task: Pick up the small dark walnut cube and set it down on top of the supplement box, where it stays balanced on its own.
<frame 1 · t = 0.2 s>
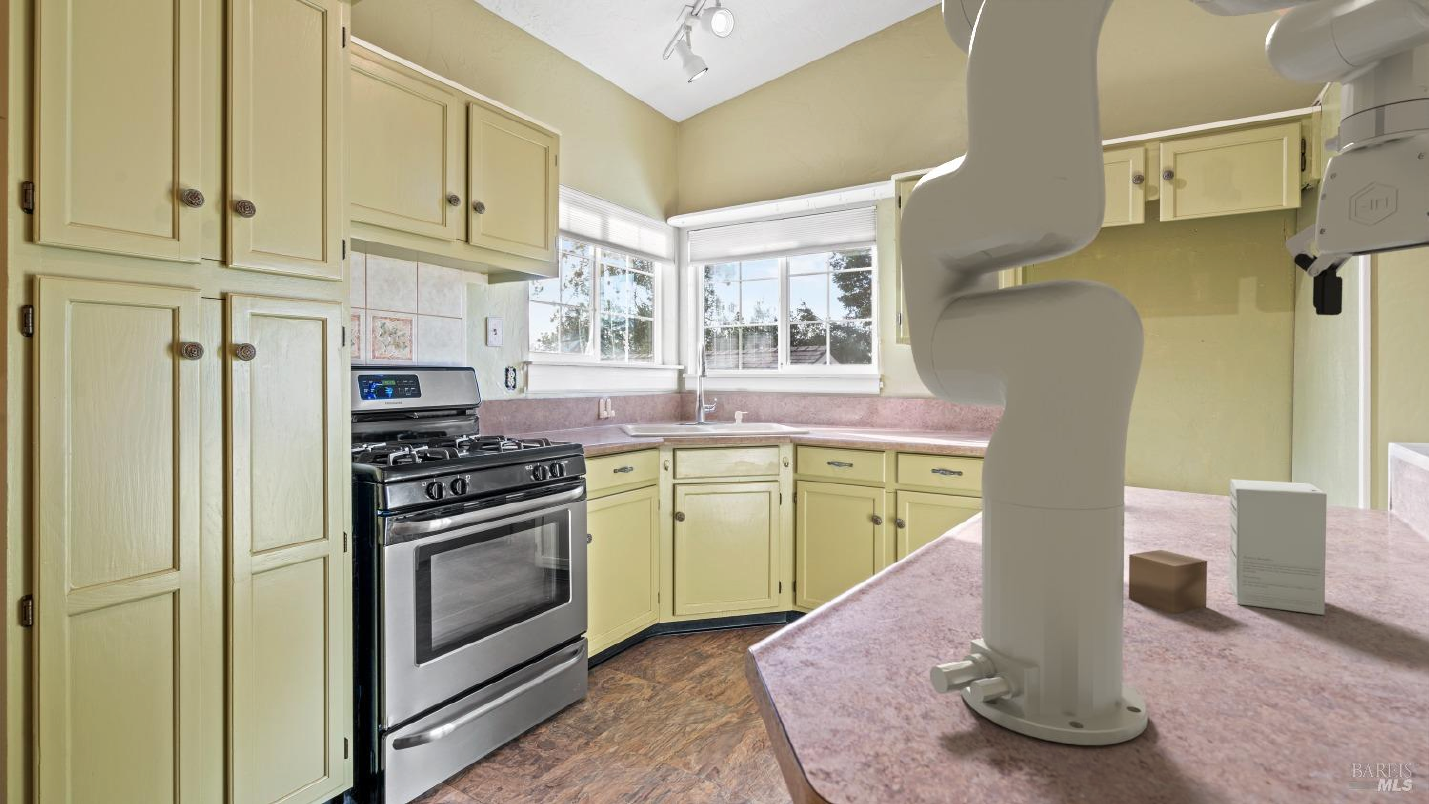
hand: (1387, 310, 67), 31 cm above the countertop, tool pointing down, fingers open, 9 cm apart
supplement box: (1273, 602, 74), on the countertop
walnut cube: (1166, 603, 74), on the countertop
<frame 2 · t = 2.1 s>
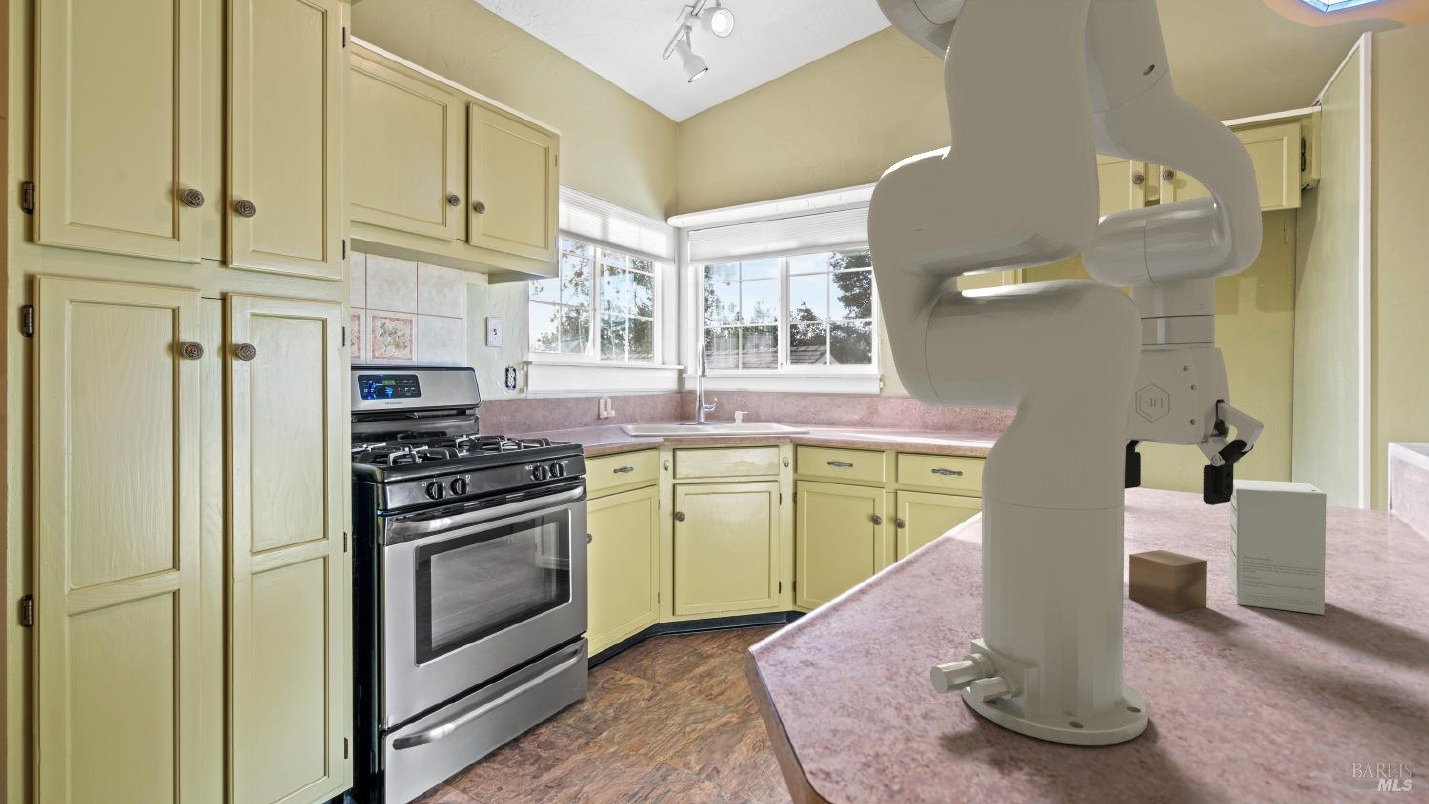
hand: (1170, 494, 74), 12 cm above the countertop, tool pointing down, fingers open, 9 cm apart
nothing on the countertop moved.
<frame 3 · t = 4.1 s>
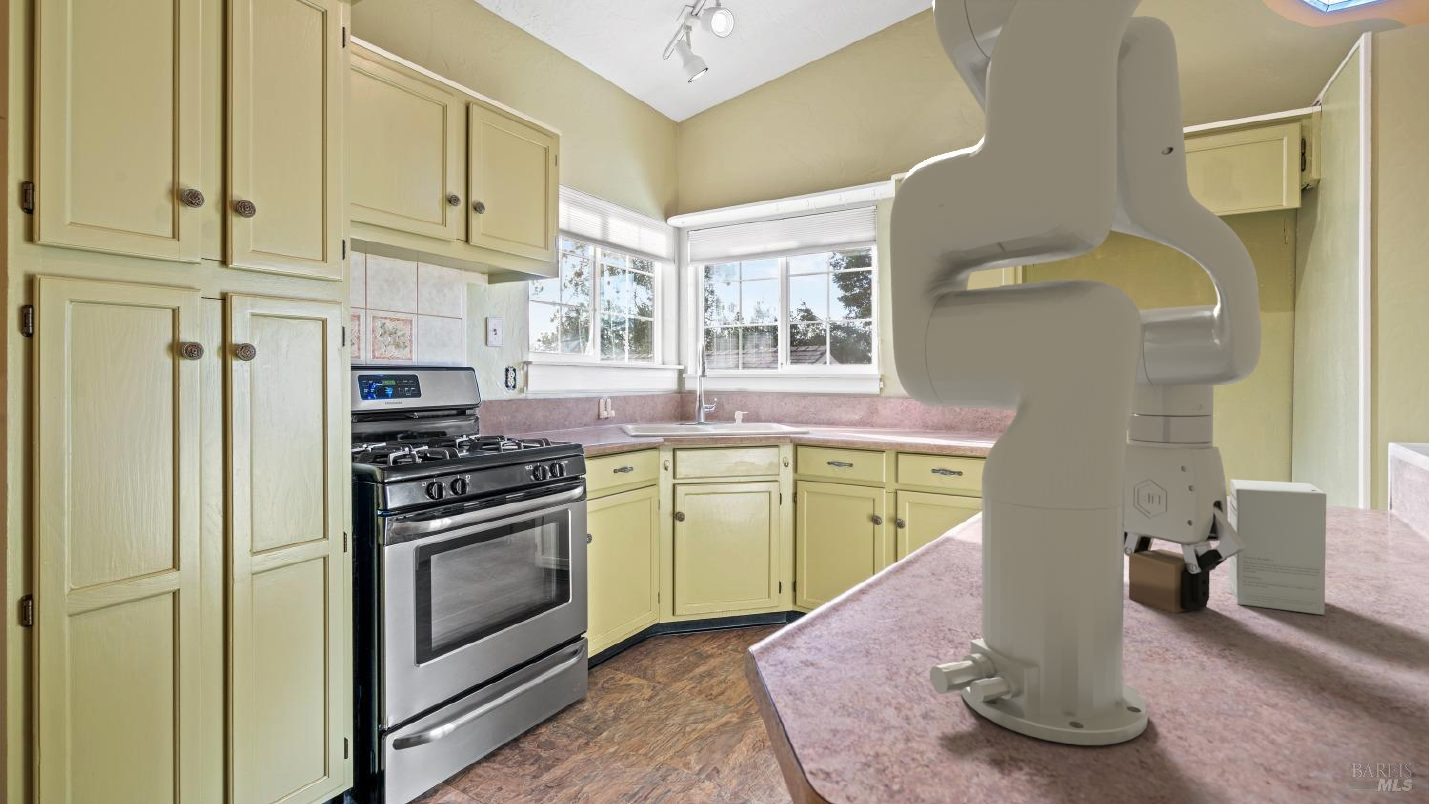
hand: (1167, 597, 74), 0 cm above the countertop, tool pointing down, fingers closed on walnut cube, 5 cm apart
walnut cube: (1167, 602, 74), on the countertop, touching gripper
everything else where it was.
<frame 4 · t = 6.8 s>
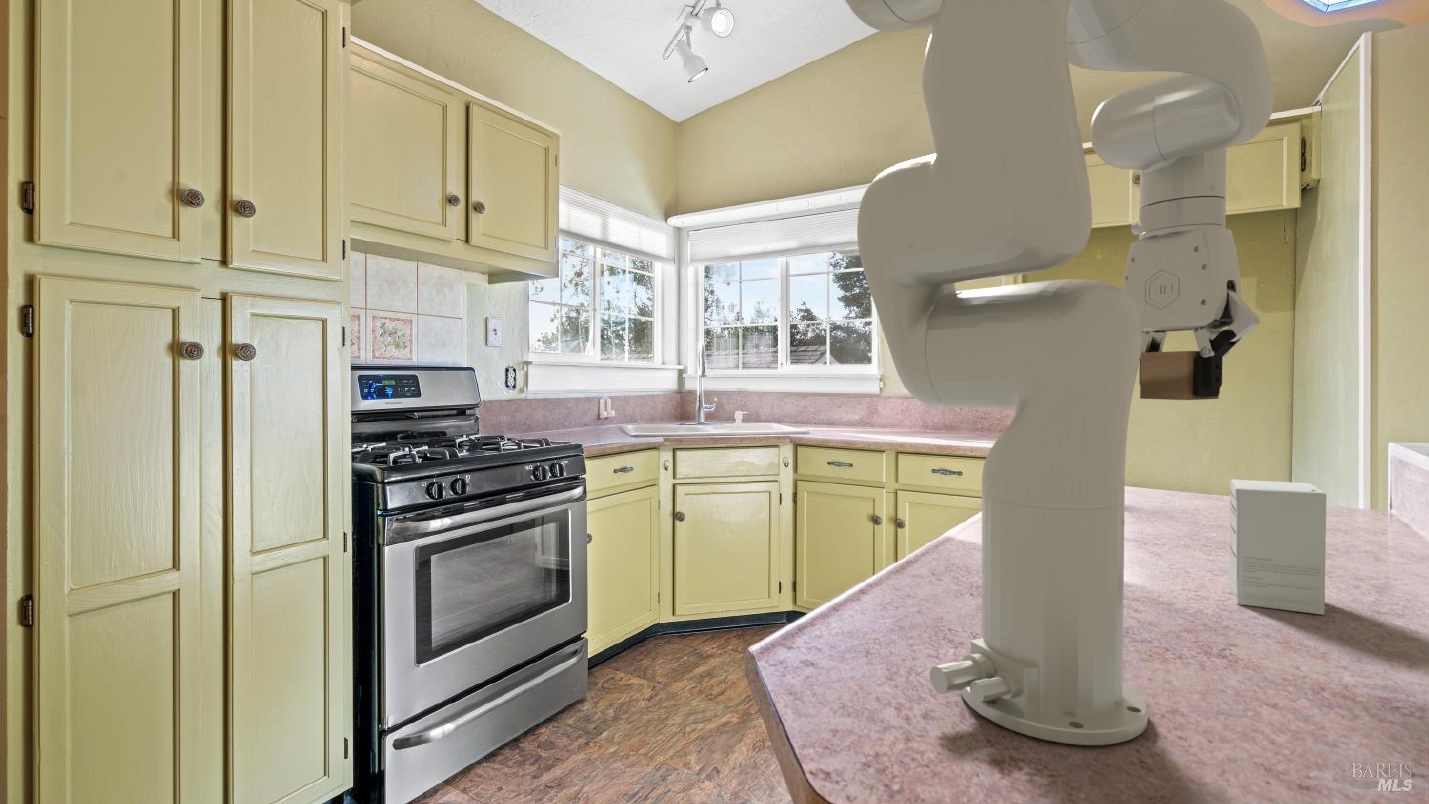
hand: (1178, 393, 73), 22 cm above the countertop, tool pointing down, fingers closed on walnut cube, 5 cm apart
walnut cube: (1178, 398, 73), point 22 cm above the countertop, touching gripper
everything else where it was.
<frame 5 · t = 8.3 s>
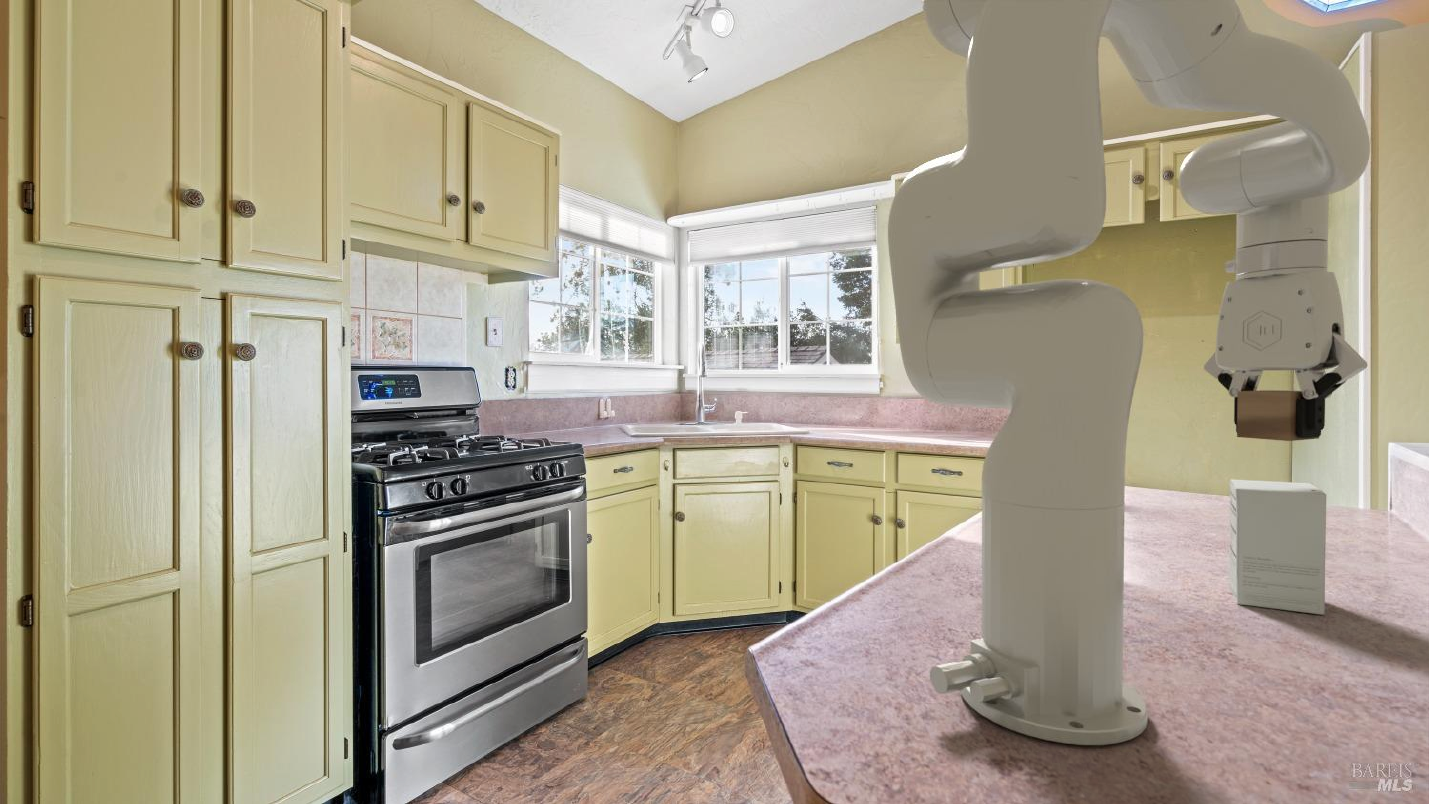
hand: (1277, 433, 73), 18 cm above the countertop, tool pointing down, fingers closed on walnut cube, 5 cm apart
walnut cube: (1277, 437, 73), point 18 cm above the countertop, touching gripper
everything else where it was.
when the fingers open (14 cm above the countertop, at t = 9.7 s): walnut cube drops 1 cm, resting on supplement box.
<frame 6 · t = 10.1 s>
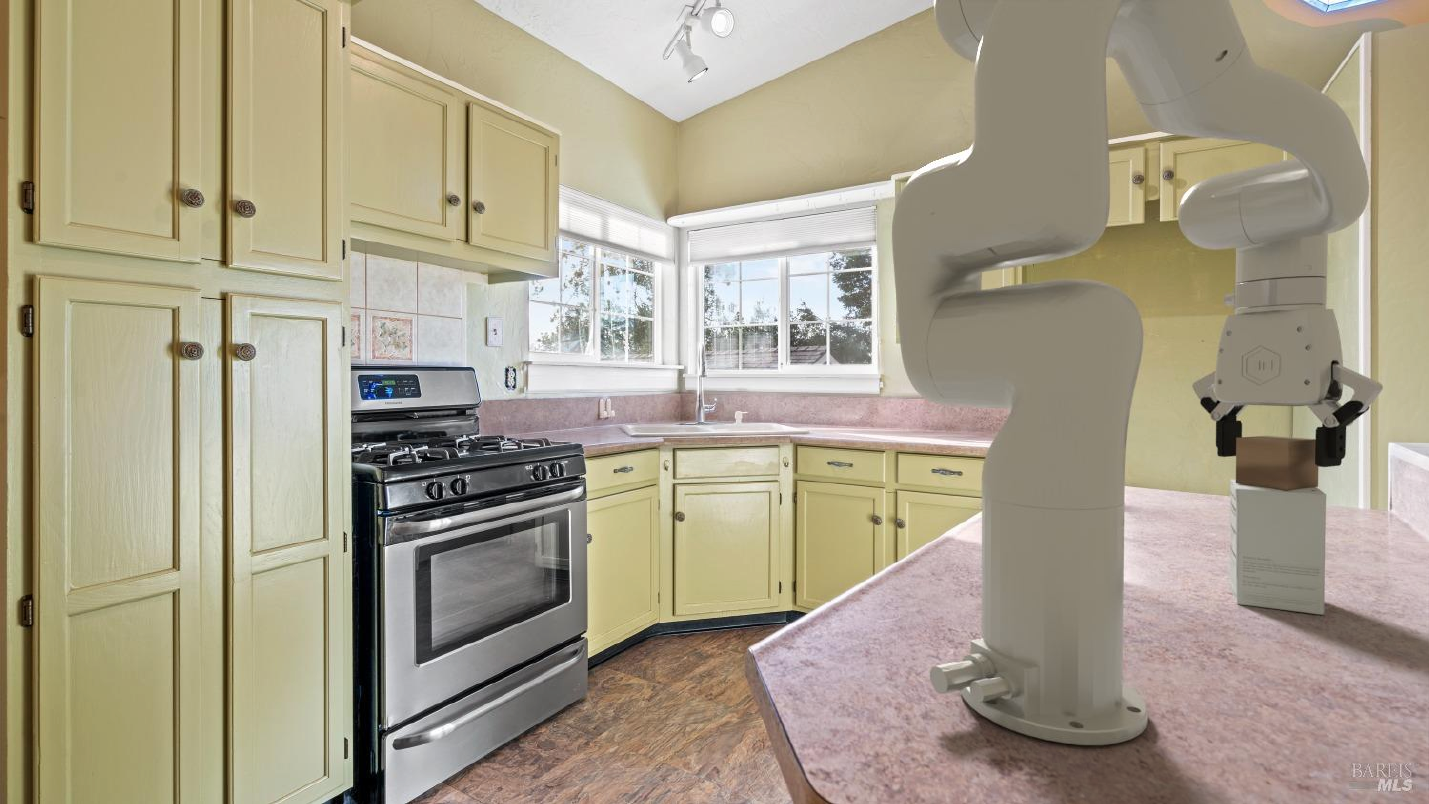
hand: (1275, 460, 73), 15 cm above the countertop, tool pointing down, fingers open, 9 cm apart
supplement box: (1272, 602, 74), on the countertop, touching walnut cube
walnut cube: (1276, 484, 73), point 13 cm above the countertop, touching supplement box
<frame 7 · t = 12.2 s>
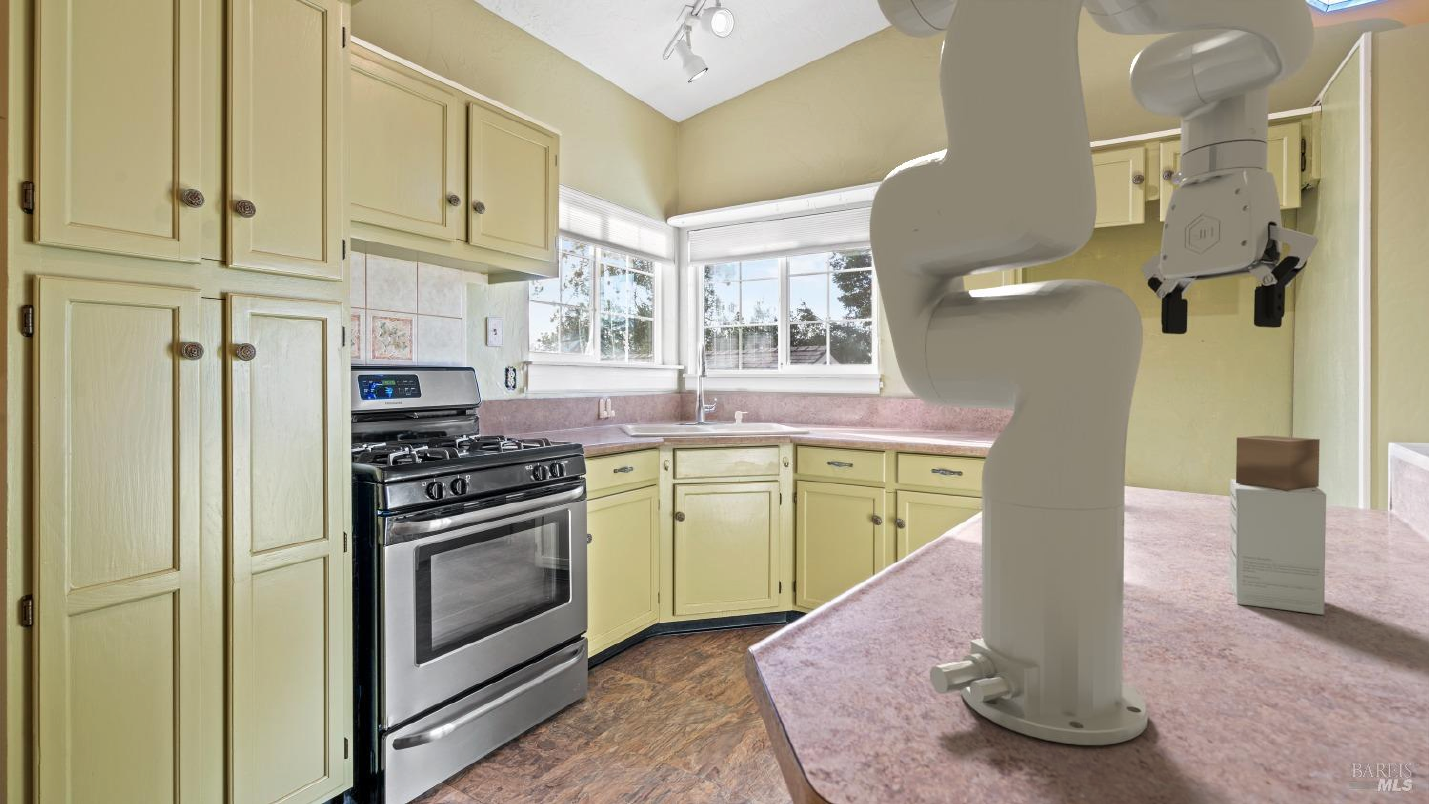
hand: (1218, 330, 73), 29 cm above the countertop, tool pointing down, fingers open, 9 cm apart
nothing on the countertop moved.
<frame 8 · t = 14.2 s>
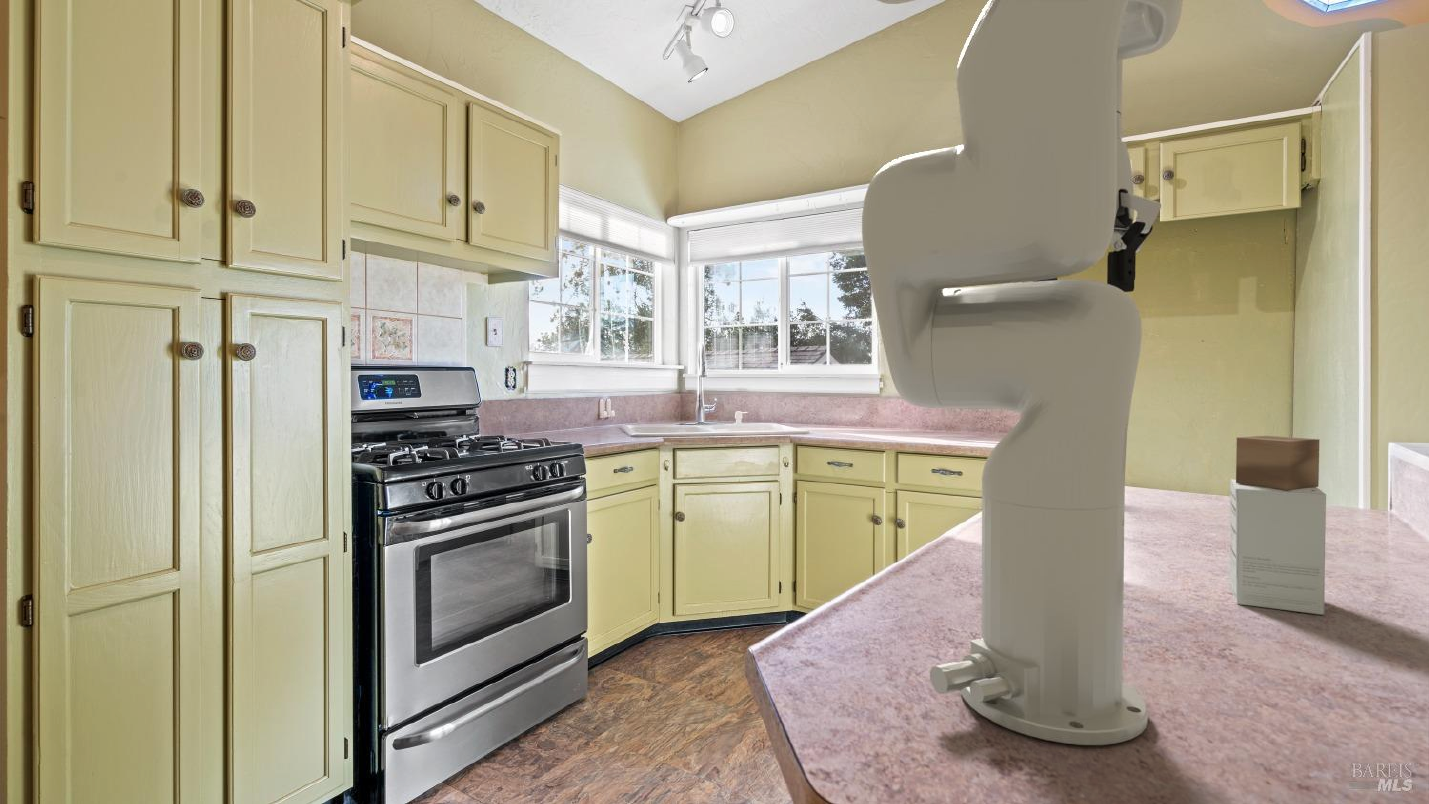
hand: (1080, 296, 76), 33 cm above the countertop, tool pointing down, fingers open, 9 cm apart
nothing on the countertop moved.
at the end: walnut cube 0.1 cm off-centre on the supplement box, point 12.8 cm above the supplement box's base; walnut cube tilted 0°; the gripper is holding nothing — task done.
